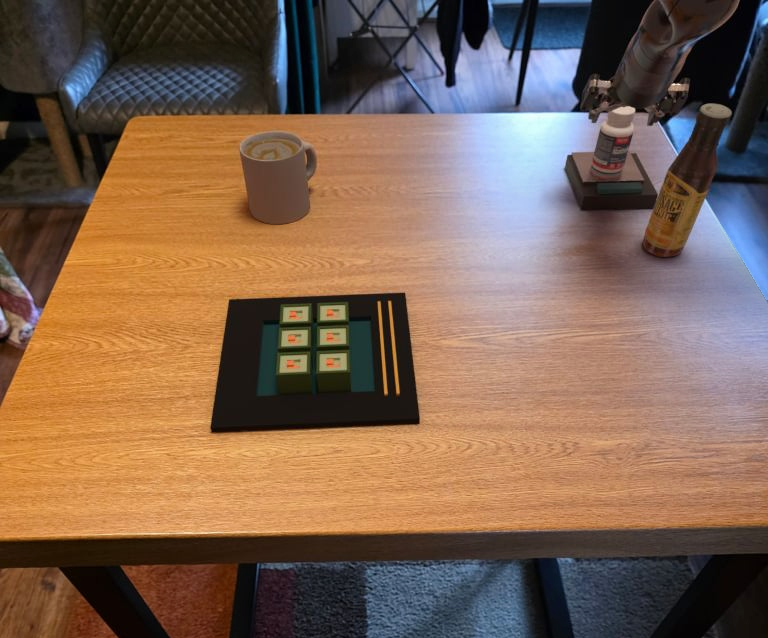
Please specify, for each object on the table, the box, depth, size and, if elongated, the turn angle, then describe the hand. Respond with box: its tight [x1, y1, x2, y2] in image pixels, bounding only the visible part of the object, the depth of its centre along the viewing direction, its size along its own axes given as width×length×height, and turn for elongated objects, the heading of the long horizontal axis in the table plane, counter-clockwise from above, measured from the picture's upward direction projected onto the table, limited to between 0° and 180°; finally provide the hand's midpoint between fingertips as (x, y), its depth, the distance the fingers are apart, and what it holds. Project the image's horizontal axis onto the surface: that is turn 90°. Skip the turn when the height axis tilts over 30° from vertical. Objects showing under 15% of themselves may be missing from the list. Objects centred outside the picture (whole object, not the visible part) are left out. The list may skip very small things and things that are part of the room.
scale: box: [564, 150, 659, 211], centre depth 111 cm, size 12×14×3 cm
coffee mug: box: [238, 130, 318, 225], centre depth 106 cm, size 13×10×10 cm
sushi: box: [209, 292, 421, 434], centre depth 85 cm, size 25×25×4 cm
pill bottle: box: [592, 106, 636, 173], centre depth 107 cm, size 5×5×9 cm
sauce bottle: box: [642, 103, 733, 258], centre depth 93 cm, size 6×6×20 cm
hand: (621, 118), depth 103 cm, fingers open, 8 cm apart
